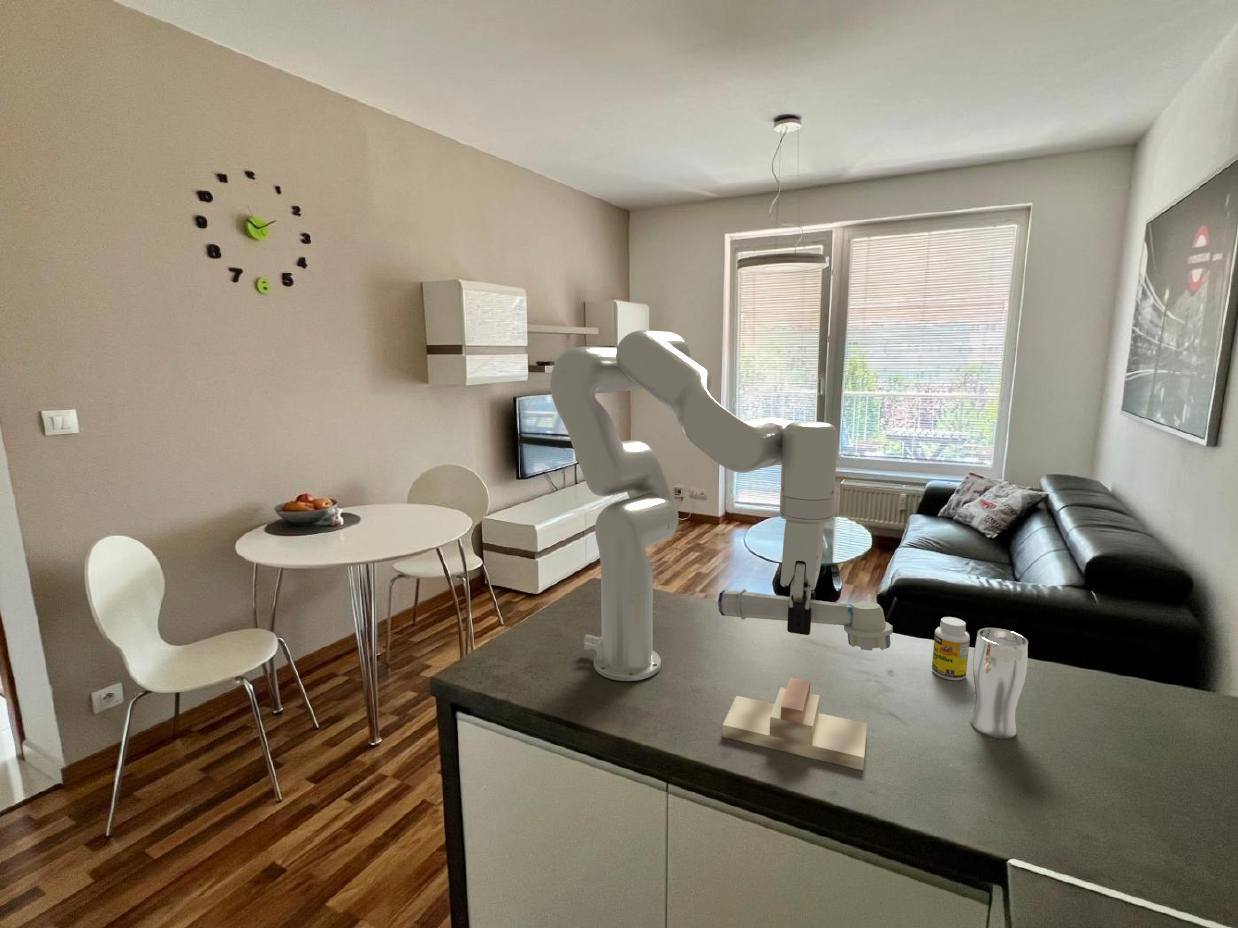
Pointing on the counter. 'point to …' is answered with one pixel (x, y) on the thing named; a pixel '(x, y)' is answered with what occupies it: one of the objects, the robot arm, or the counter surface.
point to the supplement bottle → (951, 649)
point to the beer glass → (998, 680)
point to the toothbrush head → (814, 615)
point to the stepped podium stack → (797, 727)
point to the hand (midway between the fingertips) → (800, 623)
